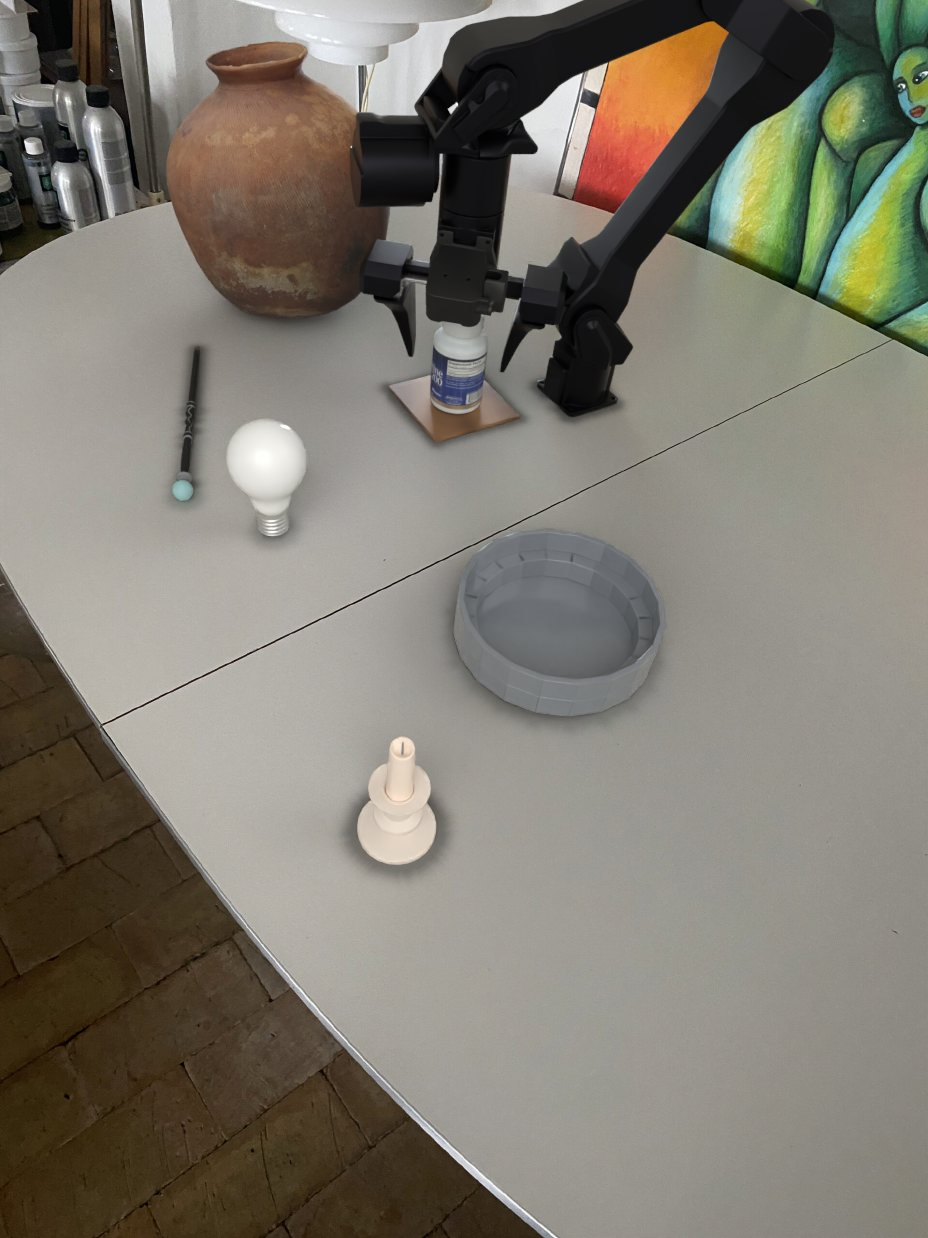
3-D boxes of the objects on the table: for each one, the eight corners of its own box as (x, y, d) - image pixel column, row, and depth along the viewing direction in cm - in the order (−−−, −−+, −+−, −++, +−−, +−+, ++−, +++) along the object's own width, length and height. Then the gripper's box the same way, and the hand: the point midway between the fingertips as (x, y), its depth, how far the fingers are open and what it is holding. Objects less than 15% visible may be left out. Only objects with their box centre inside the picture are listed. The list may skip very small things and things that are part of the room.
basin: (574, 545, 78) (584, 507, 74) (691, 672, 69) (708, 635, 66) (417, 604, 71) (420, 565, 68) (525, 752, 63) (534, 716, 59)
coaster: (469, 367, 95) (469, 364, 95) (519, 418, 90) (520, 415, 89) (388, 388, 91) (388, 385, 91) (435, 442, 86) (435, 439, 85)
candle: (438, 864, 56) (450, 780, 49) (357, 867, 56) (356, 782, 48) (433, 793, 60) (445, 704, 52) (357, 795, 59) (357, 705, 51)
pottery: (396, 351, 96) (405, 99, 77) (178, 350, 92) (132, 86, 74) (380, 252, 111) (385, 21, 92) (192, 248, 107) (157, 6, 88)
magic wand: (200, 357, 93) (208, 344, 93) (186, 508, 77) (196, 494, 76) (185, 348, 92) (193, 336, 92) (167, 499, 76) (177, 486, 75)
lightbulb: (323, 519, 77) (319, 415, 69) (290, 565, 73) (281, 461, 65) (258, 499, 78) (246, 394, 70) (222, 543, 74) (205, 437, 66)
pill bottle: (427, 384, 91) (433, 297, 84) (478, 386, 92) (488, 300, 85) (430, 415, 88) (437, 327, 81) (483, 416, 89) (494, 329, 81)
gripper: (343, 225, 70) (345, 391, 82) (572, 263, 69) (541, 425, 81) (374, 171, 77) (371, 331, 89) (581, 205, 77) (552, 361, 88)
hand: (456, 362), depth 87 cm, fingers open, 9 cm apart
